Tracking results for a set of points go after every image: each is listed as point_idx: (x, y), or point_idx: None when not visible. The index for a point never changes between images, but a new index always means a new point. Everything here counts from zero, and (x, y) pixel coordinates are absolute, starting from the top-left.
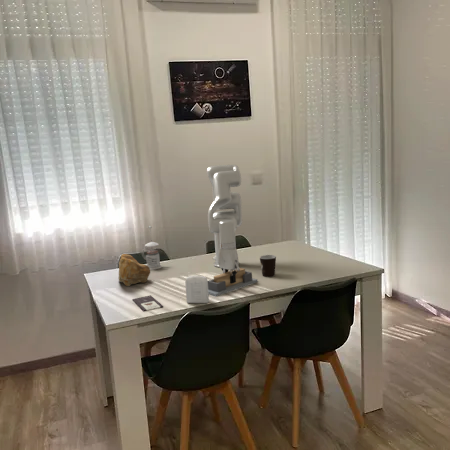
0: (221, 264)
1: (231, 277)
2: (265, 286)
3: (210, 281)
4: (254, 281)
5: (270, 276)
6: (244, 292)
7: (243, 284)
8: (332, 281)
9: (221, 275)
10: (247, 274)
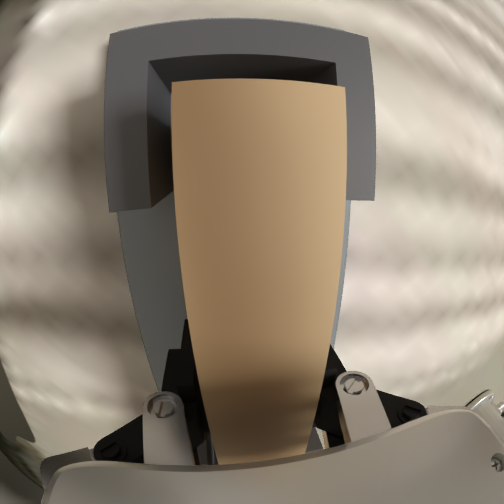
0: (441, 485)
1: (181, 373)
2: (87, 424)
3: (316, 44)
4: None
5: None
6: (40, 289)
7: (158, 386)
8: None
9: (245, 257)
10: None
